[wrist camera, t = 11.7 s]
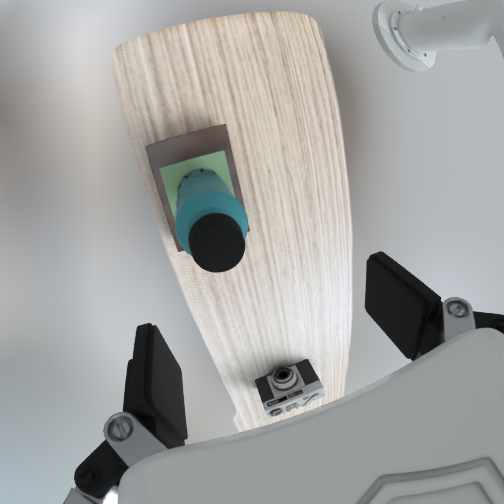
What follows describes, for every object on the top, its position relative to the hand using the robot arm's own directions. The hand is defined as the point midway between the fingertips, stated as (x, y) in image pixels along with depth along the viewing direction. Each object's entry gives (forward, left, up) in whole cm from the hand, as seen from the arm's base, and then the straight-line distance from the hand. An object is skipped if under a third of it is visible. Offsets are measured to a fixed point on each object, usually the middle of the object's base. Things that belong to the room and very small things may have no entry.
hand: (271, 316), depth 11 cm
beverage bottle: (+1, -1, -29) cm, 29 cm away
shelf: (+1, -1, -33) cm, 32 cm away
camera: (+37, +29, -33) cm, 57 cm away
